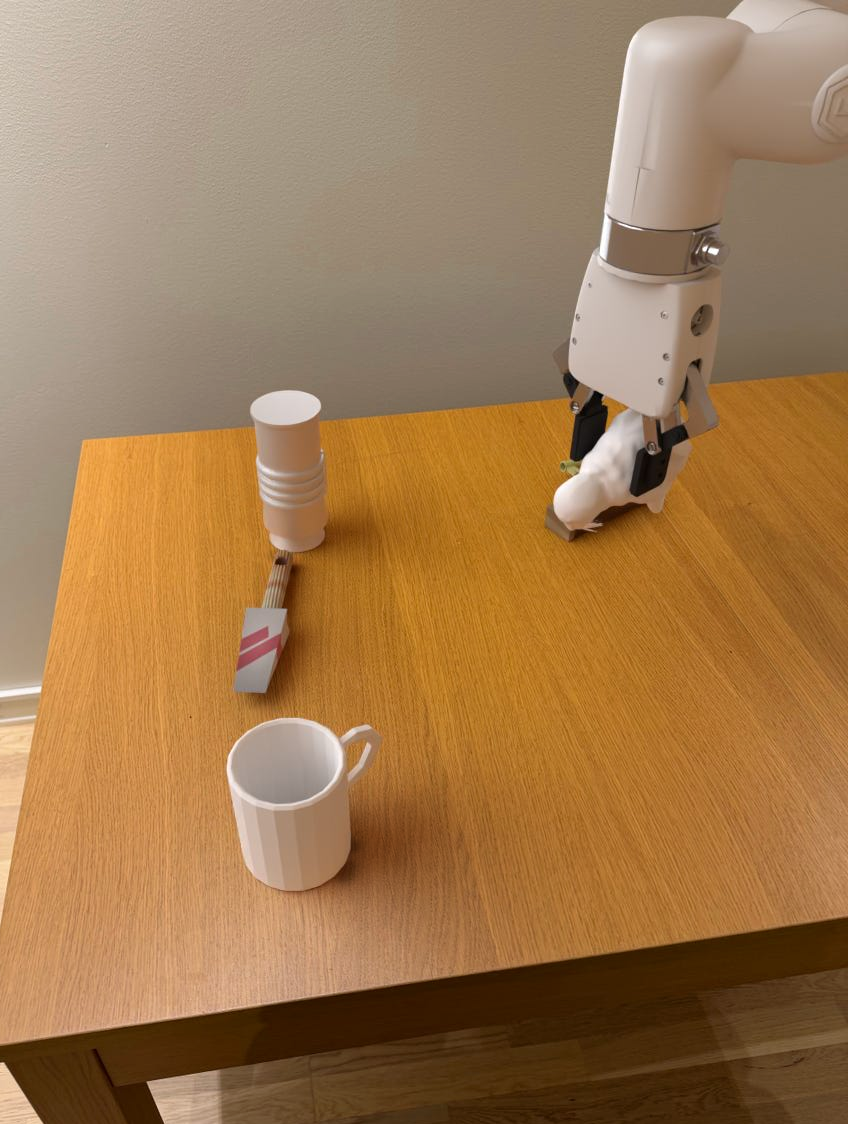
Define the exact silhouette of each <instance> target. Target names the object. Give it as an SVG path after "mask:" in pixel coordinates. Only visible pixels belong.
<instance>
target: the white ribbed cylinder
mask: <svg viewBox="0 0 848 1124" xmlns="http://www.w3.org/2000/svg"><path fill="white" fill-rule="evenodd" d="M249 408H250V409H249V411H250V412H249V413H250V417H251V418H252V420H253V422H254V423H253V424H254V431H255V440H256V448H257V449H256V450H257V455H256V457H255V467H256V476H257V479H258V481H257V484H258V488H259V498H260V499H261V501H262V513H263V516H262V517H263V526H264V527H265V529H266V530H267V531H268V532H269V541H270V544H271V545H272V546H273V547H274V548H276V549H277V550H279V551H280V550H288V552H291V553H302V552H308V551H310V550H313V549H315V548H317V547H318V546H321V544H322V542H324V540H325V539H326V538H325V537H326V531H325V529H324V527H326V526H327V524H328V521H329V513H328V509H327V507H328V506H327V501H326V495H327V493H328V490H327V489H328V480H327V479H328V478H327V463H326V453H325V451H324V449H323V448H322V444H321V429H320V428H321V427H320V415H321V413H322V404H321V401H320V399H318V397H316V395H313V394H311V393H308V392H306V391H301V390H291V389H289V390H277V391H272V392H269V393H266V394H263V395H261V396H260V397H258V398H256V399H255V400H254V401H253V402H252V404H251V405H250V407H249Z"/></svg>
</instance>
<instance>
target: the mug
mask: <svg viewBox="0 0 848 1124" xmlns="http://www.w3.org/2000/svg"><path fill="white" fill-rule="evenodd" d="M383 739H384V737H383V736H382V735H381V734H380V733H379V732H377V730H375V729H374V728H373V727H372V726H370V725H369V723H368V724H364V725H360V726H356V727H352V728H351V729H349V730H348V731H347V732H345V733H344V734H343V735H342V736H340V738H339V736H337V734H336V733H334V731H333V730H332V729H331V728H330V727H327V726H326V725H323V724H322V723H320V722H318V721H316V720H310V719H306V718H302V717H280V718H276V719H272V720H267V721H264V722H262V723H260V724H258V725H256V726H254V727H252V728H251V729H248V730H247V731H246V732H245V733H244V734H243V735H242V736H241V737H240V738H239V739H237V740H236V741H235V743H234V745H233V747H232V748H231V750H230V751H229V754H228V756H227V762H226V770H225V771H226V775H227V781H228V787H229V792H230V796H231V802H232V806H233V812H234V817H235V822H236V828H237V832H238V838H239V842H240V847H241V852H242V856H243V859H244V860H243V861H244V865H245V866H246V867H247V869H248V870H249V871H250V873H251V874H252V876H253V877H254V878H255V879H257V880H258V881H260V882H262V884H264V885H266V886H267V887H269V888H272V889H276V890H281V891H283V892H304V891H307V890H310V889H314V888H317V887H320V886H322V885H324V884H325V883H327V882H328V881H330V880H331V879H332V878H334V877H335V876H336V875H337V874H338V873H339V872H340V870H341V869H342V868H343V867H344V866H345V864H346V862H347V860H348V858H349V855H350V852H351V847H352V846H351V845H352V840H351V839H352V834H351V833H352V832H351V816H350V815H351V814H350V795H349V790H350V789H351V788H353V787H354V786H355V785H356V784H357V783H358V782H359V780H360V779H362V778H363V776H364V775H365V774H366V773H367V772H368V771H369V770H370V769H371V768H372V766H373V763H374V761H375V758H376V756H377V753H378V751H379V749H380V747H381V744H382V741H383ZM363 741H366V744H365V747H364V750H363V752H362V754H361V756H360V759H359V761H358V763H356V765H355V766H354V767H353V768H352V769H351V770H350V771H349V772H348V764H347V763H348V760H347V759H348V758H347V751H346V750H347V748H349V747H350V746H351V745H353V744H357V743H360V742H363Z"/></svg>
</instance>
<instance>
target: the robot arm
mask: <svg viewBox="0 0 848 1124" xmlns="http://www.w3.org/2000/svg"><path fill="white" fill-rule="evenodd" d="M617 111H618V113H617V118H616V125H615V131H614V139H613V147H612V153H611V159H610V160H611V161H610V167H609V175H608V182H607V188H606V195H605V202H604V209H603V216H602V223H601V230H600V235H599V236H600V238H599V244H598V247H597V248H595V249H594V250H593V251H592V253H591V256H590V259H589V262H588V264H587V268H586V271H585V273H584V277H583V280H582V284H581V287H580V290H579V295H578V299H577V303H576V308H575V312H574V317H573V322H572V327H571V332H570V333H571V334H570V336H569V337H568V338H566V339H565V340H564V341H562V343H560V344H559V345H557V347H556V348H554V349H553V350H552V358H553V360H554V363H555V364H556V366H557V368H558V370H559V372H560V374H561V375H563V376H562V383H563V384H564V387H565V389H566V391H567V393H568V395H569V397H570V401H569V405H568V407H569V410H570V412H571V414H573V415H574V422H573V430H572V436H571V444H570V450H569V460H573V461H574V462H577V461H578V462H579V461H581V460H583V459H584V457H585V456H586V454H587V453H589V452H590V451H592V449H593V448H594V447H595V445H596V444H597V442H598V440H599V439H600V438H601V437H602V435H603V434H604V433H606V430H607V423H608V416H609V411H608V410H609V406H608V405H606V404H603V403H604V402H605V400H606V398H607V397H608V398H609V399H612V400H614V401H615V402H618V403H619V404H622V405H623V406H625V407H628V408H631V409H633V410H635V411H637V412H639V413H642V421H643V431H644V441H645V447H644V448H642V449H640V450H638V452H637V454H636V459H635V464H634V470H633V475H632V480H631V485H630V490H629V491H630V494H632V495H633V496H635V497H639V496H641V495H643V494H644V493H646V492H648V491H650V490H652V489H654V488H656V487H658V486H660V485H661V484H662V483H663V482H664V480H665V477H666V474H667V469H668V465H669V460H670V456H671V452H672V447H673V446H675V445H677V444H679V443H681V442H683V441H686V440H691V439H694V438H695V437H699V436H701V435H703V434H705V433H707V432H709V431H712V430H713V429H715V428H717V427H718V426H719V424H720V419H719V416H718V414H717V411H716V409H715V406H714V404H713V402H712V399H711V397H710V395H709V392H708V389H709V385H710V381H711V377H712V371H713V368H714V360H715V356H716V351H717V343H718V337H719V331H720V330H719V327H720V321H721V320H720V319H721V309H722V308H721V307H722V306H721V305H722V272H721V269H719V268H717V267H719V266H722V265H723V264H724V263H725V262H726V261H727V259H728V257H729V254H730V245H729V244H728V243H726V242H722V241H721V239H719V238H720V233H721V229H722V219H723V215H724V212H725V211H724V209H725V206H726V202H727V198H728V193H729V188H730V185H731V180H732V176H733V172H734V171H733V170H734V166H735V161H737V160H742V159H745V160H755V161H756V160H758V161H766V162H775V163H783V164H789V165H790V164H792V165H809V166H810V165H820V164H827V163H831V162H835V161H838V160H841V159H844V158H847V157H848V0H742V1H741V2H739V4H738V5H737V6H735V8H733V10H732V11H731V12H730V13H729V14H728V15H727V16H726V17H719V16H707V15H680V16H670V17H669V16H668V17H663V18H658V19H654V20H652V21H650V22H647V23H645V24H643V26H642V27H640V28H639V29H638V30H637V31H636V33H635V34H634V35H633V36H632V38H631V40H630V42H629V45H628V48H627V51H626V57H625V62H624V69H623V76H622V82H621V90H620V96H619V104H618V110H617ZM713 265H714V266H713ZM715 266H717V267H715ZM681 402H683V405H684V407H685V409H686V412H687V414H688V419H687V420H686V421H685V422H684V423H682V424H681V416H682V415H681ZM660 419H663V421H664V433H662V434H661V423H660Z"/></svg>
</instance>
